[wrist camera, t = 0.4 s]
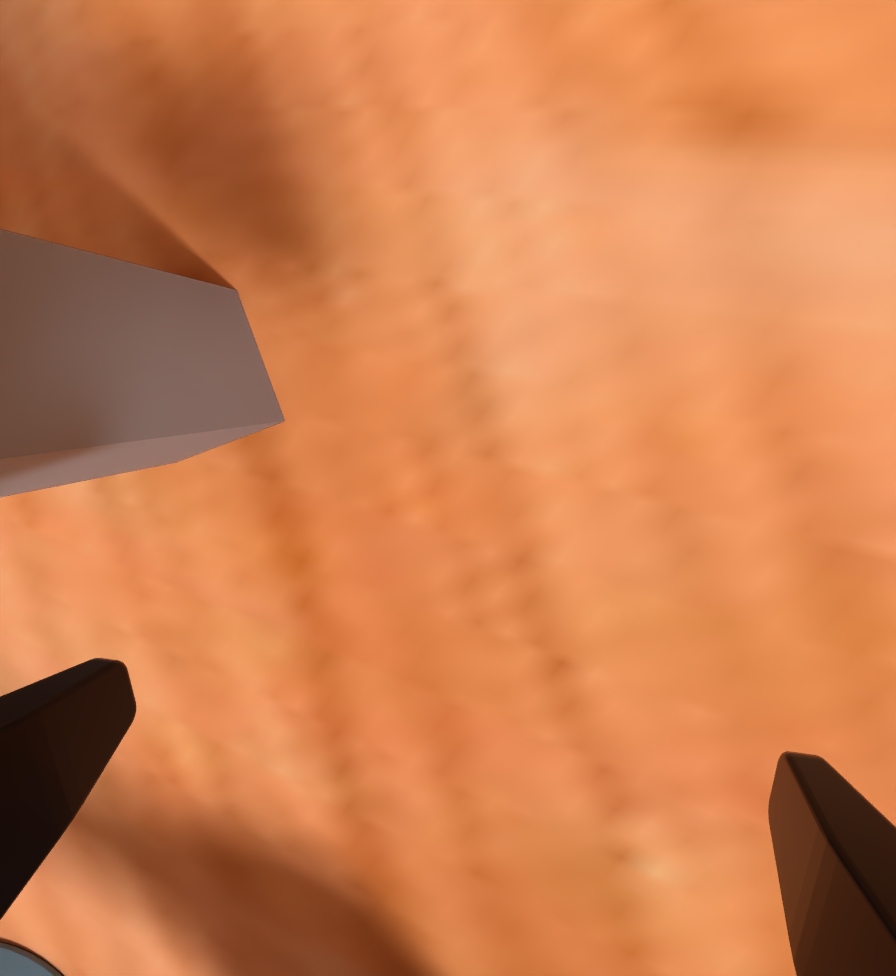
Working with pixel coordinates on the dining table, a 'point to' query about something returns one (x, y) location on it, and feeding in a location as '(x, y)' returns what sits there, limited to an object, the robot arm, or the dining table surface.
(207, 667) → the dining table surface
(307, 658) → the dining table surface
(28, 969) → the cocktail glass
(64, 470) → the charcoal block
